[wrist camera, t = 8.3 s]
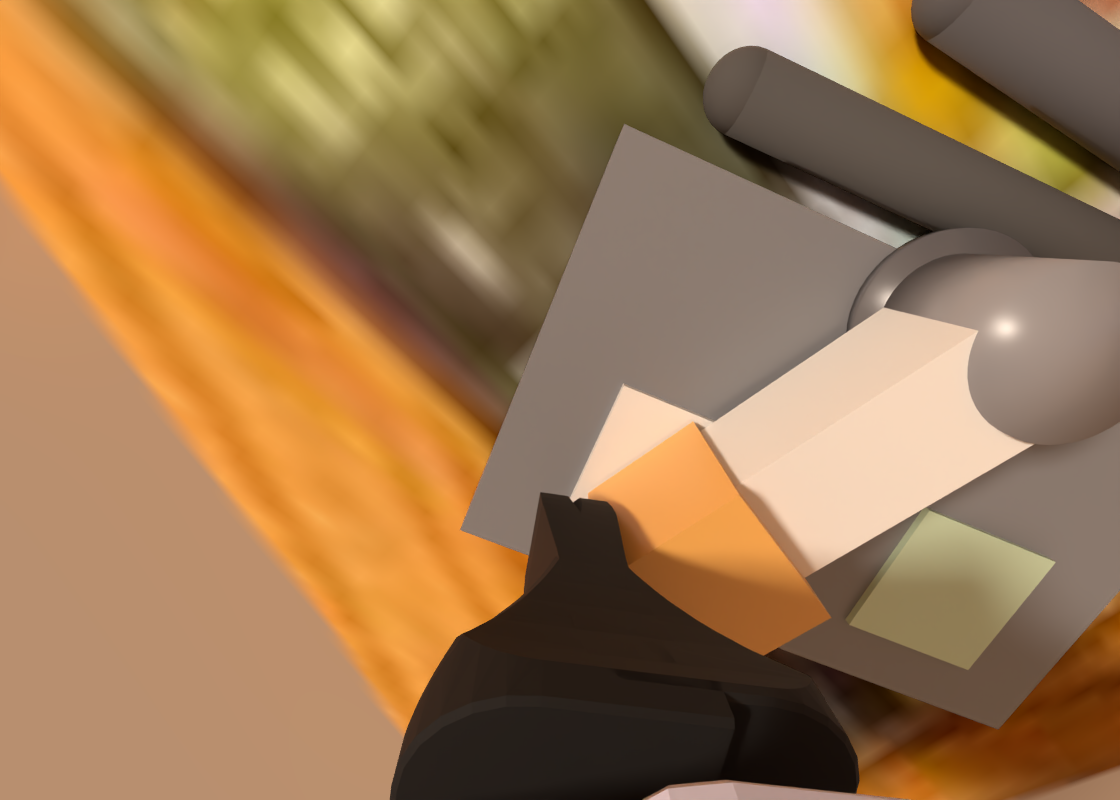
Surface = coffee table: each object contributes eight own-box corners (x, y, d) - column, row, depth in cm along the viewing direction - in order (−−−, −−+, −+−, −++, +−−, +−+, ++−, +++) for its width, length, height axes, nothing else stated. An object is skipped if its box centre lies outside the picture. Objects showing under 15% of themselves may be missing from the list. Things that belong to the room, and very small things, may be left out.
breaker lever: (1047, 338, 11) (1248, 384, 8) (659, 578, 14) (688, 697, 10) (984, 222, 11) (1176, 217, 7) (587, 492, 13) (592, 588, 9)
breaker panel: (1239, 366, 13) (1321, 383, 12) (968, 694, 16) (1006, 739, 15) (638, 86, 12) (647, 66, 10) (469, 506, 15) (457, 536, 13)
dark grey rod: (1307, 330, 13) (1407, 343, 11) (1257, 389, 13) (1346, 410, 12) (716, 46, 11) (738, 17, 10) (682, 124, 12) (698, 108, 10)
